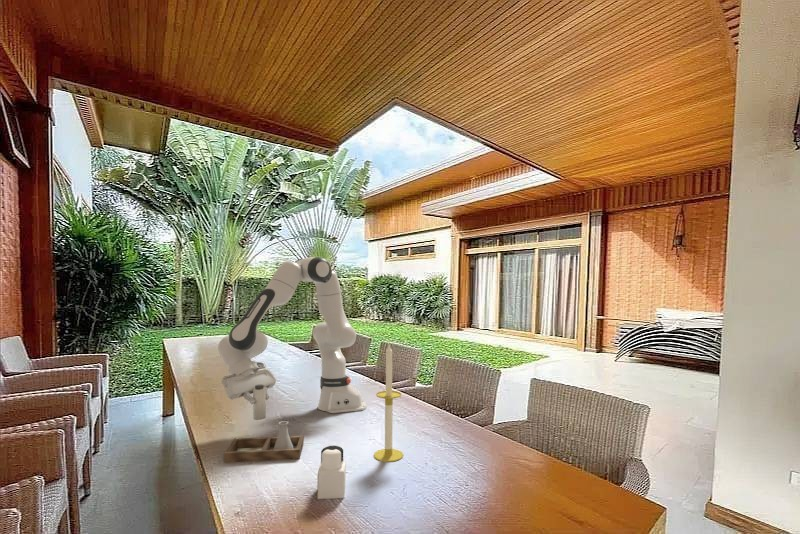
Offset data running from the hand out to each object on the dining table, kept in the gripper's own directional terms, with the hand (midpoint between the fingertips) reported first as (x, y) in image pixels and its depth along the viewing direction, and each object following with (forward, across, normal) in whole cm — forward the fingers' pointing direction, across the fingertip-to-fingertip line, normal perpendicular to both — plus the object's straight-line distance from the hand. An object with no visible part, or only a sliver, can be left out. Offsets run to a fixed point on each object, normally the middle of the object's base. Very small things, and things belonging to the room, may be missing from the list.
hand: (260, 400), depth 154 cm
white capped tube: (+4, 0, +5) cm, 6 cm away
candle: (+45, +11, -26) cm, 53 cm away
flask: (+22, -6, -4) cm, 23 cm away
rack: (+19, -9, -1) cm, 21 cm away
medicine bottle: (+45, -17, -26) cm, 55 cm away
